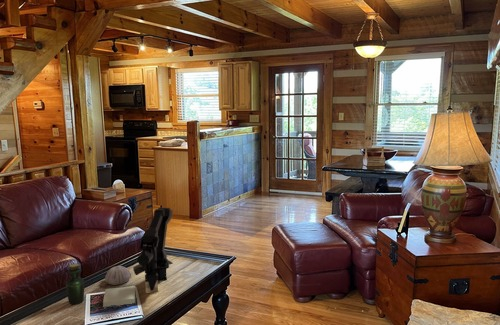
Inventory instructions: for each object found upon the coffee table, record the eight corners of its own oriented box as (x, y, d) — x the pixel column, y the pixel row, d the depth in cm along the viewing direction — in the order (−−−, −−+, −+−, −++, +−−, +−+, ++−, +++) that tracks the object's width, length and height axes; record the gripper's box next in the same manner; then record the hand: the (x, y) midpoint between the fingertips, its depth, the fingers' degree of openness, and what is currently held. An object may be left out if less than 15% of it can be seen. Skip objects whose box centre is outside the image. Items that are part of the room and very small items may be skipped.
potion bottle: (70, 297, 190) (68, 262, 187) (88, 297, 190) (86, 261, 188) (64, 305, 181) (61, 268, 179) (82, 305, 182) (80, 268, 180)
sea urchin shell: (136, 280, 210) (135, 266, 209) (113, 289, 199) (112, 274, 198) (122, 274, 218) (121, 260, 217) (99, 282, 208) (99, 267, 207)
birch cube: (157, 286, 202) (157, 275, 201) (158, 291, 196) (157, 280, 195) (145, 288, 200) (145, 276, 200) (145, 293, 194) (145, 281, 194)
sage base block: (135, 291, 196) (135, 285, 196) (135, 304, 183) (134, 298, 182) (105, 295, 192) (105, 289, 192) (103, 308, 179) (103, 302, 178)
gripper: (134, 253, 203) (135, 282, 205) (133, 266, 185) (135, 298, 187) (156, 251, 206) (157, 279, 208) (157, 264, 188) (158, 295, 190)
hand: (151, 287), depth 198 cm, fingers closed on birch cube, 6 cm apart
